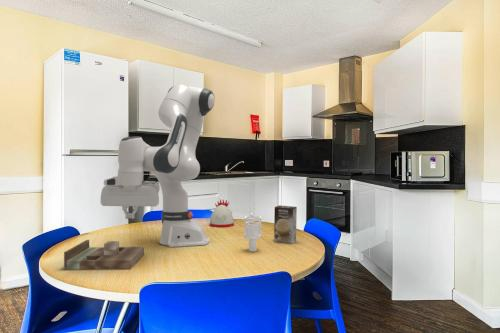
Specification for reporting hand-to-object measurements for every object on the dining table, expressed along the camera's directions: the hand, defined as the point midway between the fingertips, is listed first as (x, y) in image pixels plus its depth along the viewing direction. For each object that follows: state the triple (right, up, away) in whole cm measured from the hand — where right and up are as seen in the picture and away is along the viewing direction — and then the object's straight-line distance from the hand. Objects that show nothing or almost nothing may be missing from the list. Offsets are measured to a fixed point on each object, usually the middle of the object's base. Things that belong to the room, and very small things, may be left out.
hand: (130, 218), depth 124 cm
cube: (-7, -13, 0) cm, 14 cm away
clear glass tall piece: (+45, -16, +16) cm, 50 cm away
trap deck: (-8, -16, 0) cm, 18 cm away
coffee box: (+60, -16, +32) cm, 70 cm away
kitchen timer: (+28, -15, +71) cm, 78 cm away
